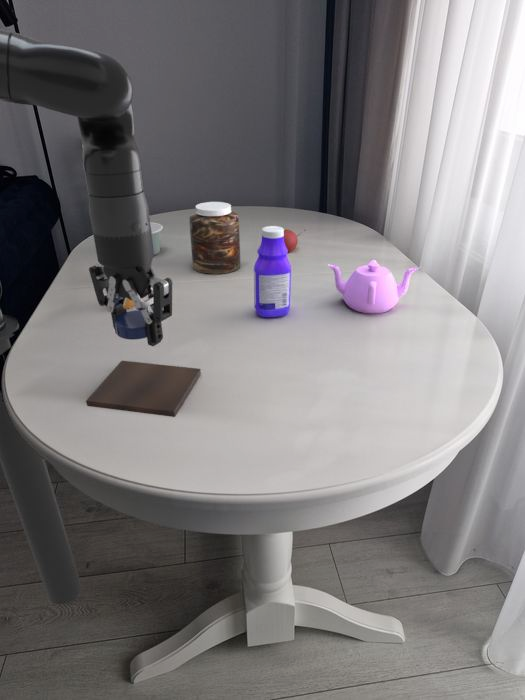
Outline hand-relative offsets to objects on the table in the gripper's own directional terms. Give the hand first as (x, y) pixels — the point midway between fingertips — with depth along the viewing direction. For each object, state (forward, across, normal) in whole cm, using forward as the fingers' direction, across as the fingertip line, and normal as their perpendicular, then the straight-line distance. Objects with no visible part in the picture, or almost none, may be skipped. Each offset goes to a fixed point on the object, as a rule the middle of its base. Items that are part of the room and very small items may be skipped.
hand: (138, 337), depth 76 cm
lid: (-3, 0, 0) cm, 3 cm away
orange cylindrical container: (+9, +27, -21) cm, 35 cm away
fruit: (+9, +14, -71) cm, 73 cm away
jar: (+9, +24, -50) cm, 56 cm away
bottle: (+9, -2, -34) cm, 35 cm away
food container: (+9, +48, -49) cm, 69 cm away
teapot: (+9, -18, -48) cm, 52 cm away
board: (+9, 0, 0) cm, 9 cm away
